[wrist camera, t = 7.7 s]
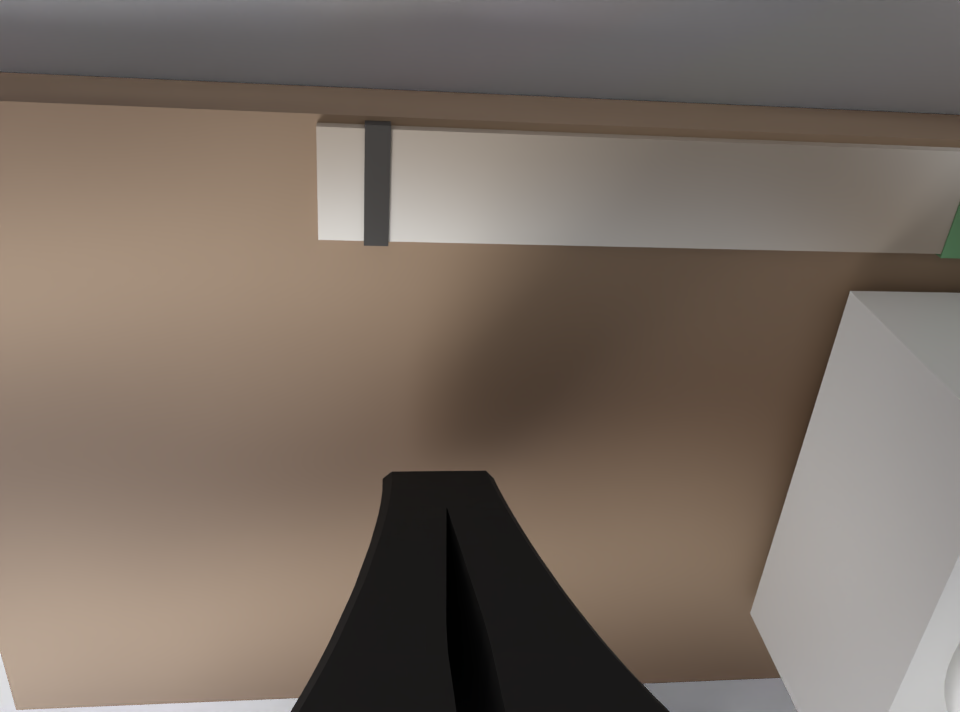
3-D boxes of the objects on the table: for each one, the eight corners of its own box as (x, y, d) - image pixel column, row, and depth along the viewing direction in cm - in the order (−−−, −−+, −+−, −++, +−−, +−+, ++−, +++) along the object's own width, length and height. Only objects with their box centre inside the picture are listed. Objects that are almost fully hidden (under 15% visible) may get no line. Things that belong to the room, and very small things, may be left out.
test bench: (1334, 607, 19) (1784, 978, 13) (38, 651, 16) (-164, 1179, 10) (1683, 146, 14) (2670, 404, 8) (-105, 67, 11) (-706, 404, 5)
